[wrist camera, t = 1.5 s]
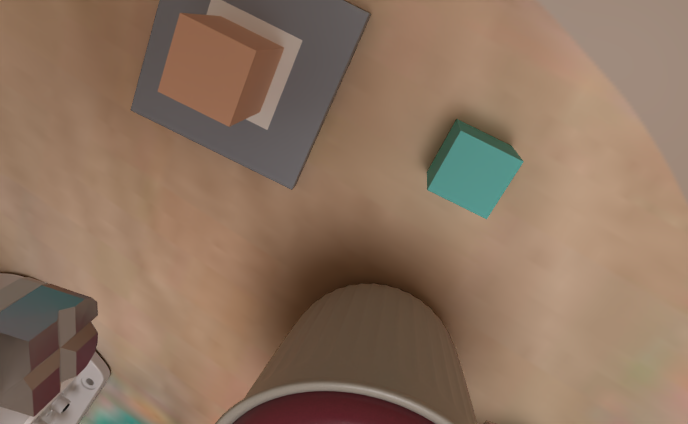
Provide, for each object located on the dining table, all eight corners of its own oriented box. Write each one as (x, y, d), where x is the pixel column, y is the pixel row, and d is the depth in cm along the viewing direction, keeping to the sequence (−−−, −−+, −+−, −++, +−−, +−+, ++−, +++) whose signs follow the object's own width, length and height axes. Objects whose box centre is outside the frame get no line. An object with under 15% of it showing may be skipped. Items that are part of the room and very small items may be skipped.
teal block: (479, 197, 36) (486, 219, 32) (426, 171, 36) (427, 189, 32) (511, 145, 35) (523, 161, 31) (456, 118, 35) (460, 130, 30)
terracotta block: (260, 112, 35) (229, 126, 30) (199, 82, 35) (157, 91, 30) (284, 47, 33) (256, 50, 28) (220, 16, 33) (179, 12, 28)
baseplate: (295, 185, 38) (291, 189, 37) (139, 107, 38) (130, 110, 37) (371, 14, 33) (369, 13, 32) (189, -77, 33) (181, -81, 32)
